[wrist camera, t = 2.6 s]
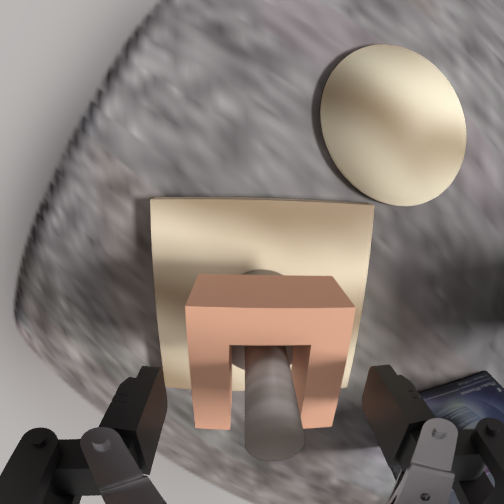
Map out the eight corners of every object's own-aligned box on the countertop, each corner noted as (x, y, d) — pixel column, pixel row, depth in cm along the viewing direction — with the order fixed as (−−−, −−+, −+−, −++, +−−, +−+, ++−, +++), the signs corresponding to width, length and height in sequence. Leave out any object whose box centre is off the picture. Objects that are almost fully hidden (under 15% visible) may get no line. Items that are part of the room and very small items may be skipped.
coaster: (319, 33, 15) (320, 31, 15) (459, 67, 15) (462, 66, 15) (317, 200, 18) (318, 200, 17) (459, 211, 18) (462, 211, 18)
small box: (488, 364, 22) (554, 433, 11) (470, 416, 23) (520, 484, 13) (388, 396, 22) (442, 497, 12) (377, 447, 23) (414, 537, 13)
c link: (198, 273, 14) (185, 306, 11) (332, 275, 14) (355, 307, 11) (203, 381, 16) (195, 427, 12) (317, 381, 16) (331, 426, 13)
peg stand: (156, 197, 18) (41, 243, 7) (366, 202, 18) (498, 253, 7) (169, 376, 21) (127, 511, 10) (342, 377, 21) (394, 506, 10)
